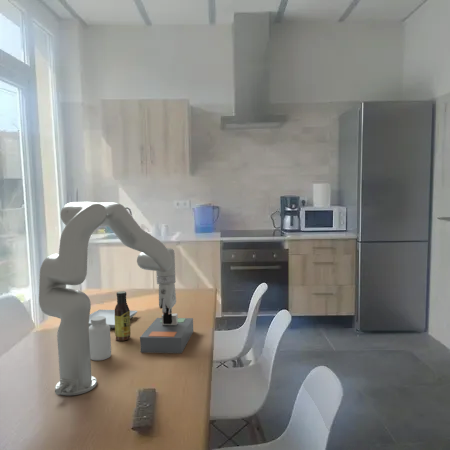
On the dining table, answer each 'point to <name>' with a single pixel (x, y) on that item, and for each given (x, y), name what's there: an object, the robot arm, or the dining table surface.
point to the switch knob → (174, 320)
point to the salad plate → (108, 316)
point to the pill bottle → (99, 339)
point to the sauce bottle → (122, 317)
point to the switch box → (166, 336)
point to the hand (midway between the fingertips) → (167, 323)
